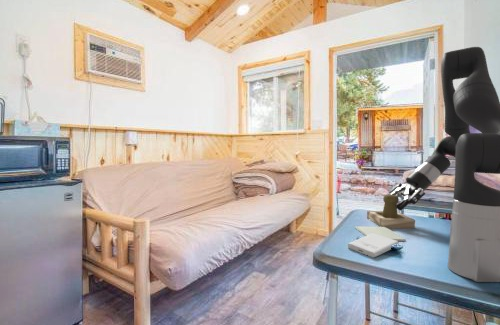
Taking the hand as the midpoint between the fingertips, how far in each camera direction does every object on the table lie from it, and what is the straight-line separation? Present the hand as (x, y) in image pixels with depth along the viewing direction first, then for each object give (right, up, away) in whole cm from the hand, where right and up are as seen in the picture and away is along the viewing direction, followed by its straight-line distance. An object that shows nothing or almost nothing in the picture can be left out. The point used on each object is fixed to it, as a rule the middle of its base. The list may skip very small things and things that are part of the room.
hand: (391, 205), depth 101 cm
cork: (-1, -7, +1) cm, 7 cm away
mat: (-11, -7, -13) cm, 19 cm away
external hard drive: (-19, -8, -25) cm, 32 cm away
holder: (-1, -7, +1) cm, 7 cm away
